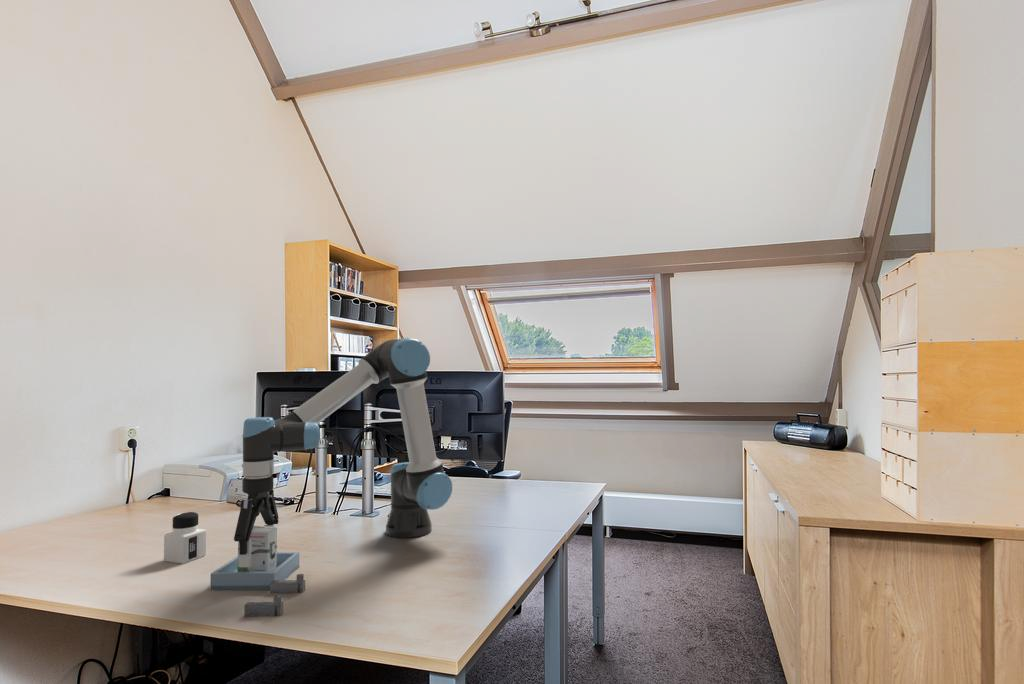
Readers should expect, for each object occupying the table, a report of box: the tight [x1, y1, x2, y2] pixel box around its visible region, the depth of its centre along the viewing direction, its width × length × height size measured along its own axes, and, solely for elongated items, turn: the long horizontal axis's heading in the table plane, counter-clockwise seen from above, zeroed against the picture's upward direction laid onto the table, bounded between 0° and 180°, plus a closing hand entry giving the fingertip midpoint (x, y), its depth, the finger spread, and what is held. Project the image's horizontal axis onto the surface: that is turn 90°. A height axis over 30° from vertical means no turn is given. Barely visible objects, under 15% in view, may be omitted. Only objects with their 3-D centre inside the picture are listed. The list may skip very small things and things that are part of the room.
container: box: [163, 511, 207, 565], centre depth 164 cm, size 8×8×13 cm
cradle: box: [243, 573, 306, 617], centre depth 131 cm, size 8×15×4 cm, turn 179°
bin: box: [210, 551, 300, 591], centre depth 147 cm, size 16×16×4 cm
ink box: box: [237, 525, 278, 572], centre depth 147 cm, size 9×5×12 cm, turn 83°
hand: (257, 557), depth 147 cm, fingers open, 13 cm apart
